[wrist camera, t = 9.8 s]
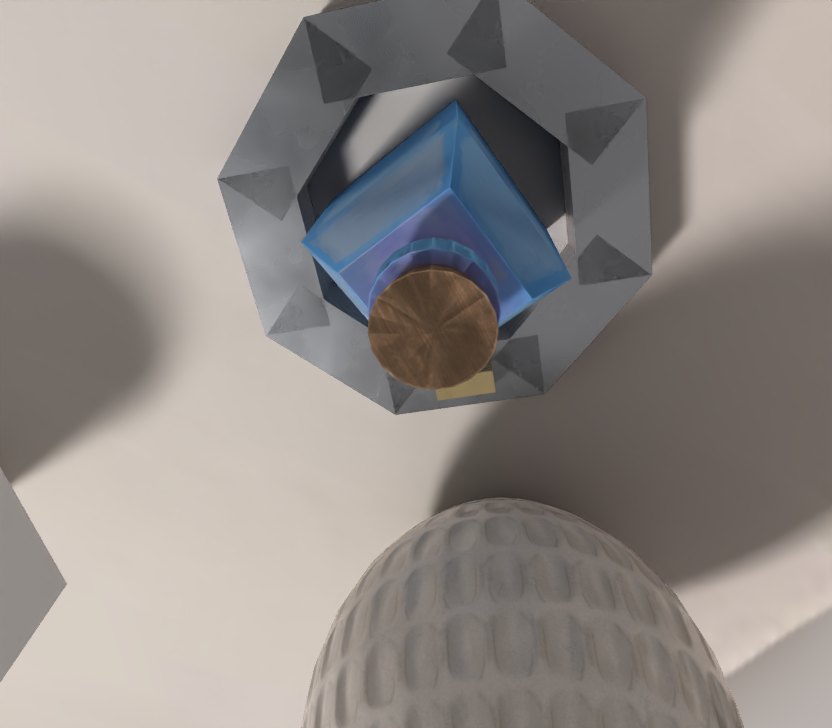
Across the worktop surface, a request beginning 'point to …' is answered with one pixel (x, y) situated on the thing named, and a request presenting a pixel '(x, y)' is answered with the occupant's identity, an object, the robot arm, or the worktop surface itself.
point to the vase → (514, 633)
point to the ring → (415, 65)
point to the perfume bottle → (436, 252)
